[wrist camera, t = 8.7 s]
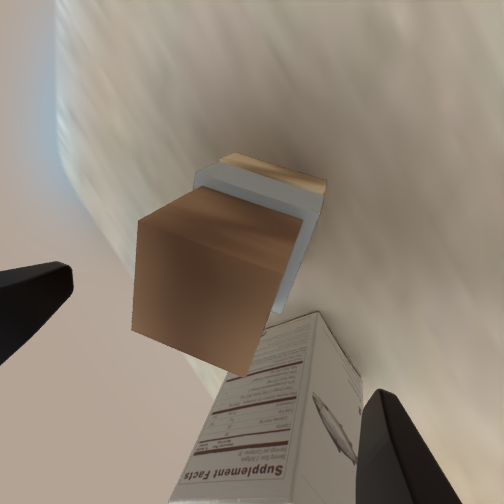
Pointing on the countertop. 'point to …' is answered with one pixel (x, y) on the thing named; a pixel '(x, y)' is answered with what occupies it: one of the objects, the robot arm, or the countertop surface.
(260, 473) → the supplement box
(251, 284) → the walnut cube
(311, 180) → the tower base
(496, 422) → the countertop surface
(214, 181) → the tower mid
